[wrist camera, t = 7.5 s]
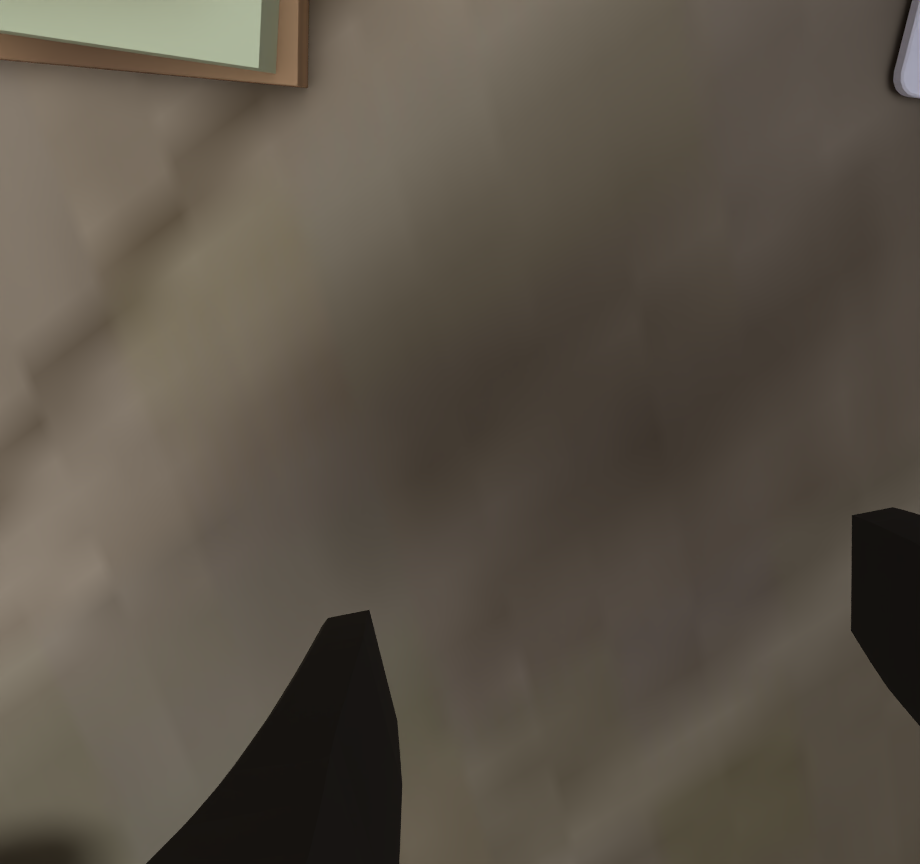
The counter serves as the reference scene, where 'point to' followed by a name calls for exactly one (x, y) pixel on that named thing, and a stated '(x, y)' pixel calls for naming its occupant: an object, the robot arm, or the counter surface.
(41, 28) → the sage block
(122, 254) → the counter surface
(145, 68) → the walnut slab
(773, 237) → the counter surface
